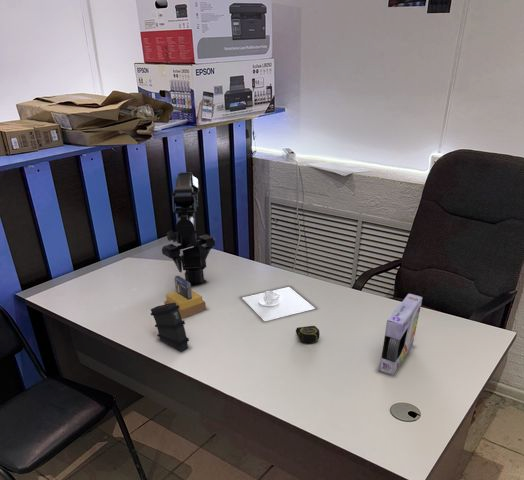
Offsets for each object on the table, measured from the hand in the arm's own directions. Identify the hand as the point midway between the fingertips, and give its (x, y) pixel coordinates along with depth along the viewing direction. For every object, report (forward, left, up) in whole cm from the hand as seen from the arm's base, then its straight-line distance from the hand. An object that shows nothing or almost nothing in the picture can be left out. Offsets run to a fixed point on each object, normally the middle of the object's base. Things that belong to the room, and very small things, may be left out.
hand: (191, 268), depth 177 cm
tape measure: (-12, +48, -12) cm, 51 cm away
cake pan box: (-24, +74, -12) cm, 79 cm away
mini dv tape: (+7, +5, -7) cm, 11 cm away
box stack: (+7, +5, -12) cm, 15 cm away
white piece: (-21, +23, -12) cm, 33 cm away
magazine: (+22, +22, -12) cm, 34 cm away
